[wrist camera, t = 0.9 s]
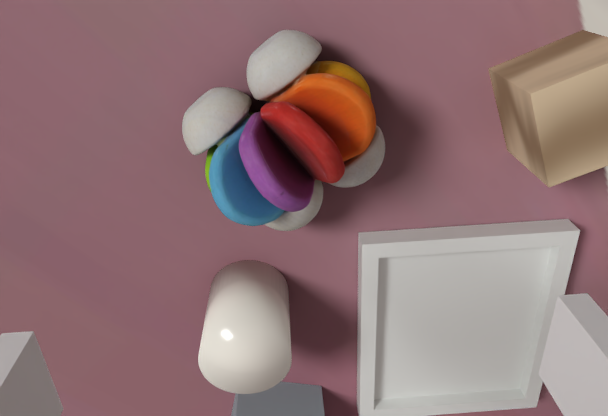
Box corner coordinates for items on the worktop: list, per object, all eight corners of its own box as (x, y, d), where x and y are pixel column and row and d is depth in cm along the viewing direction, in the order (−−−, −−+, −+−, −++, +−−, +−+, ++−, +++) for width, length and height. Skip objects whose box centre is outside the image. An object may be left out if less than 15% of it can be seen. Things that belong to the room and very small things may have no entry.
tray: (358, 232, 31) (362, 244, 30) (568, 219, 31) (580, 230, 30) (356, 404, 38) (359, 420, 37) (528, 392, 38) (536, 407, 37)
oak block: (487, 68, 27) (530, 93, 22) (581, 29, 26) (644, 48, 22) (506, 149, 29) (548, 187, 25) (594, 116, 28) (653, 148, 24)
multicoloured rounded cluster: (401, 128, 28) (439, 185, 22) (267, 226, 31) (266, 302, 24) (307, 0, 25) (320, 21, 18) (164, 121, 27) (132, 177, 21)
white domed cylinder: (205, 262, 31) (191, 328, 26) (286, 257, 32) (288, 321, 26) (215, 325, 34) (204, 397, 29) (290, 320, 34) (293, 390, 29)
